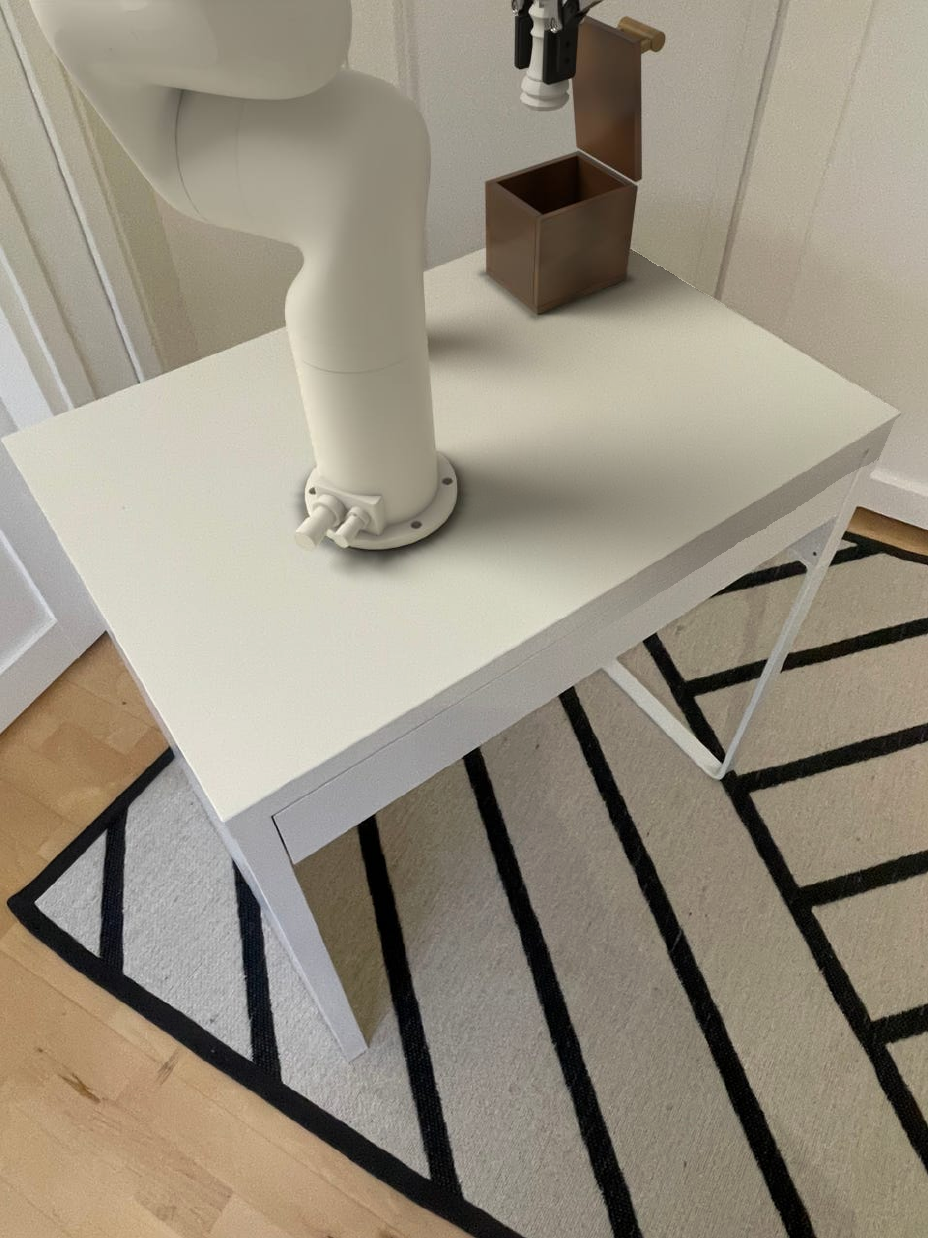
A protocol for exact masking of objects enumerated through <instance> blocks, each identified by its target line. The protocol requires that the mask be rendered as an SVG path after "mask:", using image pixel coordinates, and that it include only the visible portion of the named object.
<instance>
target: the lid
mask: <svg viewBox="0 0 928 1238" xmlns="http://www.w3.org/2000/svg"><path fill="white" fill-rule="evenodd" d="M666 38H667V36H666V34H665V32H664V31H662V30H660V29H658V28H655V27H652V26H650V25H647V24H646V23H643V22H641V21H639V20H637V19H634V18H632V17H630V16H623V17H621V19H620V20H619V21H618V22H617V26H616V27H614V26H613V25H609V24H607V23H605V22H603V21H601V20H598V19H596V18H595V17H592V16H589V15H588V14H586V16H585V17H584V23H583V25H582V26H579V31H578V47H577V62H576V74H575V76H574V77H573V78H571V87H572V101H573V116H574V130H575V143H576V148H577V149H579V151H581V152H583V153H585V154H586V155H588V156H590V157H591V158H593V159H595V160H596V161H598V162H600V163H601V164H602V163H603V165H605V166H606V167H608V168H610V169H611V170H612V169H613V171H615V172H616V173H618V174H620V175H621V176H623V177H625V178H626V179H628V180H630V181H631V182H633V183H638V182H640V181H642V179H643V141H642V140H643V129H642V128H643V124H642V122H643V120H642V119H643V118H642V114H643V112H642V111H643V109H642V108H643V107H642V55H643V54H645V53H647V52H648V51H651V52H653V53H658V52H660V51H662V49H663V48H664V46H665V44H666V40H667V39H666Z"/></svg>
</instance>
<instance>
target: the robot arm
mask: <svg viewBox="0 0 928 1238" xmlns="http://www.w3.org/2000/svg"><path fill="white" fill-rule="evenodd" d="M28 2H29V5H30V8H31V11H32V12H33V15H34V17H35V19H36V21H37V24H38V26H39V28H40V30H41V32H42V34H43V36H44V37H45V39H46V41H47V43H48V44H49V46H50V48H51V49H52V51H53V53H54V54H55V55H56V57H57V59H59V61H60V63H61V64H62V66H63V67H64V68H65V70H66V71H67V73H68V74H69V76H70V77H71V79H72V80H73V82H74V83H75V84H76V85H77V88H79V90H80V91H81V92H82V94H83V95H84V96H85V98H86V99H87V101H88V102H89V103H90V104H91V106H92V108H93V109H94V110H95V112H96V113H97V115H98V116H99V117H100V119H101V120H102V121H103V122H104V124H105V125H106V127H107V128H108V129H109V131H110V133H111V134H112V135H113V136H114V138H115V139H116V140H117V142H118V143H119V144H120V146H121V147H122V148H123V150H124V151H125V153H126V154H127V156H129V158H130V160H131V161H132V162H133V163H134V165H135V166H136V167H137V169H138V170H139V171H140V173H141V174H142V175H143V177H144V178H145V179H146V181H147V182H148V183H149V185H150V186H151V187H152V188H153V189H154V191H156V192H157V194H158V195H159V196H160V197H161V198H162V199H163V200H164V201H165V202H166V203H168V204H169V206H171V207H172V208H173V209H175V211H177V212H179V213H181V214H182V215H184V216H186V217H188V218H190V219H192V220H195V221H197V222H201V223H204V224H208V225H210V226H215V227H218V228H222V229H228V230H231V231H236V232H240V233H245V234H250V235H255V236H259V237H264V238H268V239H271V240H274V241H278V242H282V243H285V244H288V245H289V244H290V245H291V246H294V247H296V248H297V249H298V250H300V252H301V254H302V257H303V265H302V267H301V268H300V270H299V272H298V273H297V274H296V275H295V277H294V279H293V281H292V282H291V284H290V286H289V288H288V291H287V293H286V297H285V301H284V302H285V303H284V319H285V326H286V332H287V336H288V341H289V345H290V349H291V354H292V358H293V362H294V366H295V371H296V376H297V380H298V385H299V389H300V394H301V399H302V403H303V407H304V412H305V417H306V422H307V426H308V430H309V431H308V432H309V435H310V440H311V444H312V448H313V453H314V458H315V463H316V466H315V467H314V469H313V470H312V471H311V473H310V475H309V477H308V478H307V481H306V485H305V488H304V501H305V506H306V510H307V513H308V517H306V518H305V520H304V521H303V522H302V523H301V525H299V527H298V528H297V530H295V532H294V533H293V535H292V537H293V540H294V542H295V543H296V544H297V546H299V547H300V548H301V549H302V550H305V551H309V552H313V551H314V550H315V549H316V548H317V547H318V546H319V545H320V543H321V542H322V541H323V540H324V538H325V537H327V538H329V539H331V540H332V541H333V542H334V543H335V544H336V545H337V546H339V547H340V548H343V549H347V548H348V547H351V548H356V549H363V550H388V549H395V548H399V547H403V546H406V545H407V546H408V545H410V544H413V543H415V542H417V541H418V542H419V540H422V539H424V538H426V537H428V536H430V535H431V534H432V533H434V532H436V531H437V530H438V529H439V528H440V527H441V526H442V525H443V524H444V523H446V521H447V520H448V518H449V517H450V516H451V514H452V513H453V511H454V508H455V506H456V503H457V499H458V479H457V476H456V472H455V469H454V467H453V466H452V464H451V463H450V461H449V460H448V459H447V458H446V457H445V455H443V454H442V453H441V452H439V450H437V449H436V448H437V447H436V435H435V421H434V406H433V394H432V393H433V392H432V378H431V368H430V367H431V365H430V353H429V352H430V351H429V350H430V349H429V339H428V328H427V314H426V301H425V299H426V298H425V281H424V252H425V251H424V250H425V233H426V232H425V231H426V230H425V229H426V228H425V227H426V220H427V219H426V218H427V209H428V201H429V192H430V185H431V184H430V183H431V170H432V149H431V147H432V146H431V138H430V132H429V129H428V126H427V123H426V120H425V118H424V116H423V114H422V112H421V110H420V108H418V106H417V104H416V103H415V102H414V101H413V100H412V99H411V98H410V97H409V96H408V95H407V94H406V93H405V92H404V91H403V90H401V89H400V88H399V87H397V86H395V85H394V84H393V83H391V82H389V81H387V80H385V79H383V78H380V77H378V76H375V75H372V74H369V73H366V72H363V71H358V70H354V69H350V68H345V67H343V65H344V63H345V62H346V60H347V57H348V55H349V51H350V47H351V43H352V35H353V34H352V33H353V7H352V0H28ZM602 2H604V0H566V1H565V3H564V5H563V6H562V0H548V7H549V27H550V29H548V30H544V41H543V70H542V81H543V83H545V84H547V85H551V84H555V83H558V82H561V81H565V80H572V78H573V77H574V76H575V74H576V62H577V47H578V31H579V26H582V25H583V23H584V17H585V16H586V15H588V13H589V12H590V11H591V9H593V8H594V7H596V6H597V5H600V4H601V3H602ZM532 5H533V0H510V9H511V11H512V13H513V14H514V15H515V16H514V59H513V60H514V62H513V63H514V64H513V65H514V67H515V68H516V69H518V70H520V71H521V70H525V69H529V66H530V62H531V55H532V48H533V36H532V34H531V30H532V29H533V27H534V21H533V19H532V17H531V16H530V14H529V9H530V8H531V6H532Z"/></svg>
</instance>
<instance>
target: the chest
mask: <svg viewBox="0 0 928 1238" xmlns="http://www.w3.org/2000/svg"><path fill="white" fill-rule="evenodd" d="M638 188H639V186H638V185H637V184H635V182H633V181H632V180H630V179H628V178H627V177H625V176H623V175H622V174H620V173H618V172H617V171H615V170H612V168H610V167H608V166H607V165H605V164H602V162H600V161H598V160H597V159H595V158H593V157H592V156H590V155H588V154H587V153H585V152H583V151H581V150H577V151H573V152H570V153H567V154H564V155H561V156H557V157H555V158H552V159H549V160H546V161H543V162H540V163H536V164H534V165H530V166H528V167H525V168H523V169H522V168H521V169H519V170H515V171H513V172H510V173H507V174H504V175H501V176H497V177H494V178H492V179H491V178H490V179H489V180H485V182H484V193H485V194H484V197H485V198H484V201H485V203H484V205H485V273H486V275H487V276H489V278H491V279H492V280H494V281H495V282H496V283H497V284H499V285H500V286H501V287H502V288H503V289H505V290H506V291H507V292H508V293H510V294H511V295H512V296H514V298H516V299H517V300H518V301H520V302H521V303H522V304H523V305H525V306H526V307H527V308H528V309H530V310H531V311H532V312H533V313H535V314H536V315H539V314H542V313H545V312H547V311H550V310H552V309H555V308H558V307H560V306H563V305H565V304H568V303H570V302H573V301H575V300H577V299H580V298H583V297H585V296H588V295H591V294H593V293H595V292H598V291H600V290H603V289H605V288H608V287H610V286H613V285H615V284H618V283H621V282H622V281H625V280H627V277H628V268H629V261H630V253H631V246H632V238H633V228H634V222H635V214H636V207H637V206H636V205H637V197H638V190H639V189H638Z"/></svg>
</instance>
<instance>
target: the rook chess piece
mask: <svg viewBox="0 0 928 1238" xmlns="http://www.w3.org/2000/svg"><path fill="white" fill-rule="evenodd" d="M564 4H565V3H564V0H562V6H563V5H564ZM529 14H530V16H531V17H532V19H533V21H534V27H533V29H532V30H531V34H532V36H533V48H532V55H531V62H530V66H529V68H527V69H526V72H525V76H524V77H523V78H522V81H521V86H520V88H521V90H522V92H521V94H520V96H519V99H520V101H521V103H522V104H523V106H525V108H527V109H529V110H531V111H535V112H552V111H553V112H554V111H557V110H560V109H562V108H563V107H564V106H566V104H567V103H568V101H569V100H570V94H569V93H568V90H569V89H570V81H569V80H570V79H568V80H565V81H561V82H558V83H555V84H551V85H547V84H545V83H543V81H542V70H543V41H544V30H548V29H550V27H549V7H548V0H533V5H532V6H531V8H530V9H529Z"/></svg>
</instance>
